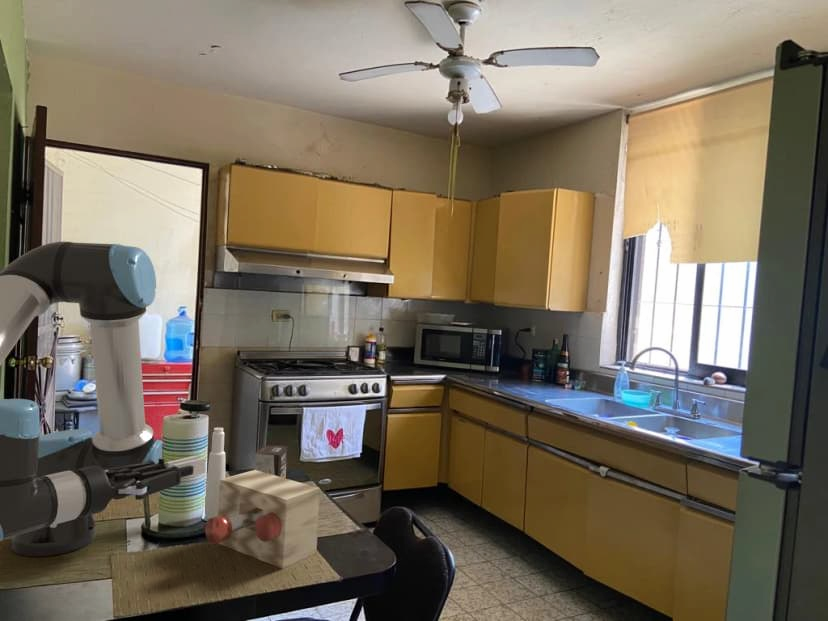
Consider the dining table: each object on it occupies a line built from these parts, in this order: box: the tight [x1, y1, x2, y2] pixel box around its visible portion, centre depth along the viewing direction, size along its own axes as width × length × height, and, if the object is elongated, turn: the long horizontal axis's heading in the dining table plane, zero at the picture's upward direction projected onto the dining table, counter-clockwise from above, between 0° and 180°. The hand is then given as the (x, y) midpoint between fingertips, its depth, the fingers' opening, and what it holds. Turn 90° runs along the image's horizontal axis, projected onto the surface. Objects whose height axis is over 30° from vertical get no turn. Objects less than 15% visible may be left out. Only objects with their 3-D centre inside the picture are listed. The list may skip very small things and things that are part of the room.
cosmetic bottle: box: [204, 427, 226, 518], centre depth 143 cm, size 6×6×22 cm
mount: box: [218, 469, 321, 570], centre depth 126 cm, size 20×12×14 cm, turn 58°
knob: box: [204, 508, 263, 545], centre depth 121 cm, size 12×5×5 cm, turn 148°
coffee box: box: [253, 445, 288, 479], centre depth 148 cm, size 9×6×16 cm
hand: (200, 464), depth 112 cm, fingers closed
